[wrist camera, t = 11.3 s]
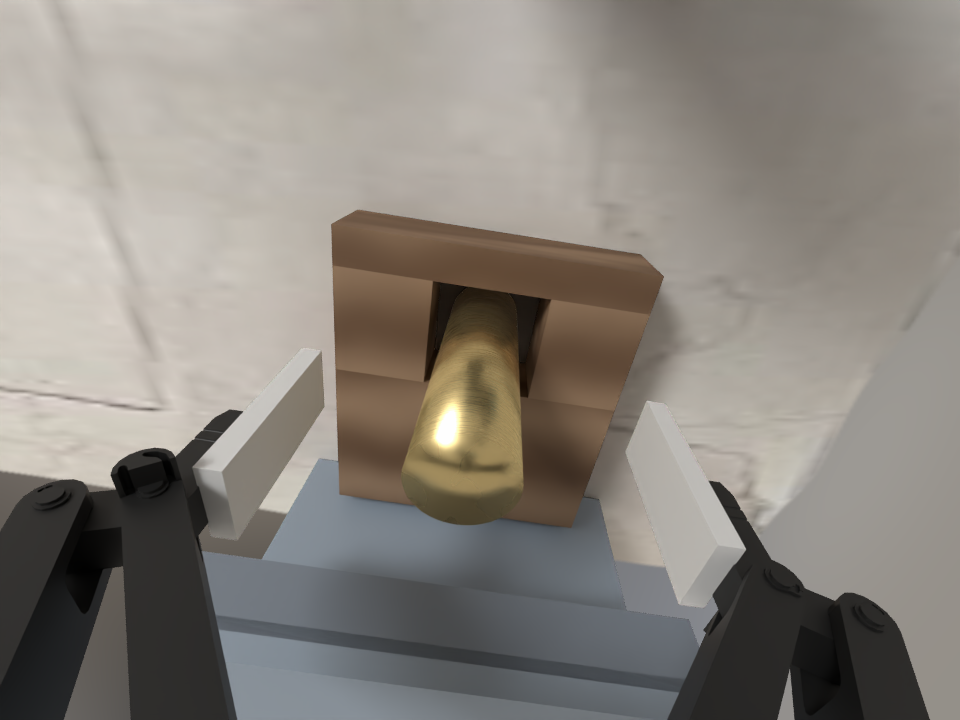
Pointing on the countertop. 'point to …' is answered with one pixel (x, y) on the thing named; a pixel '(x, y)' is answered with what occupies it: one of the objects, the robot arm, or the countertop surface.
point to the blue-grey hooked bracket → (438, 619)
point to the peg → (470, 417)
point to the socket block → (543, 378)
